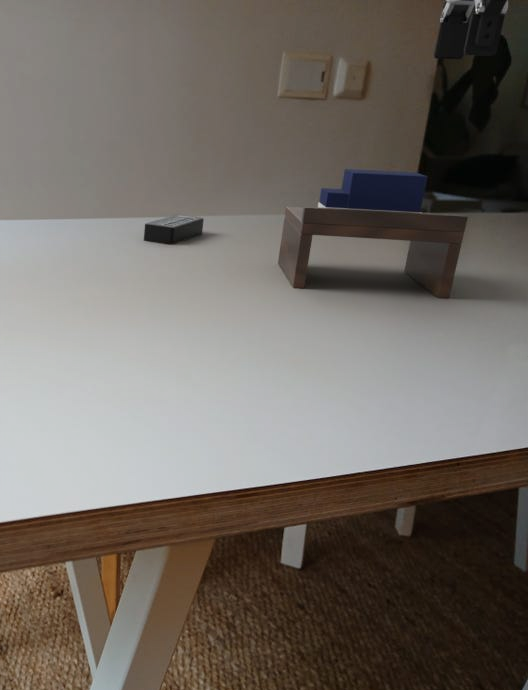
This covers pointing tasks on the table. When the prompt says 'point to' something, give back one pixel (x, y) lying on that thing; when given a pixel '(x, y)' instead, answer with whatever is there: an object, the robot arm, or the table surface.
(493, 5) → the robot arm
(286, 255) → the shelf
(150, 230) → the multiport hub
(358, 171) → the trainer
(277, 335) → the table surface
